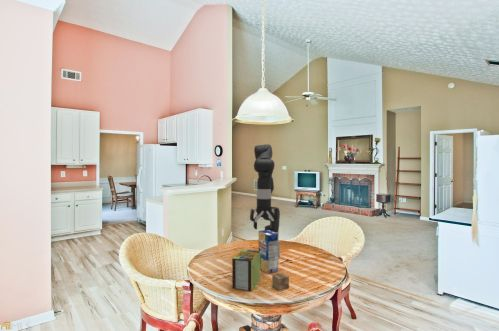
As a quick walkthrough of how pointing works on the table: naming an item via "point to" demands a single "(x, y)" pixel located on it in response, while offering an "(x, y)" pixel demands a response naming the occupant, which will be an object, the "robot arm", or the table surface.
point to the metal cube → (280, 281)
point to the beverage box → (268, 251)
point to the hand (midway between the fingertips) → (263, 228)
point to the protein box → (246, 269)
